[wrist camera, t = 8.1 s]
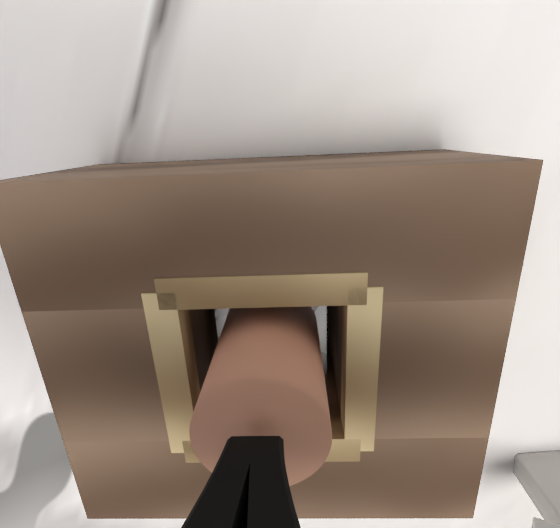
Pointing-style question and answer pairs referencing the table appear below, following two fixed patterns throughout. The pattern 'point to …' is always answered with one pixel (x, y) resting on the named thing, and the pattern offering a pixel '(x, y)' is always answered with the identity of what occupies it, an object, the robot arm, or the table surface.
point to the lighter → (541, 484)
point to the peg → (266, 388)
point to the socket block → (275, 293)
